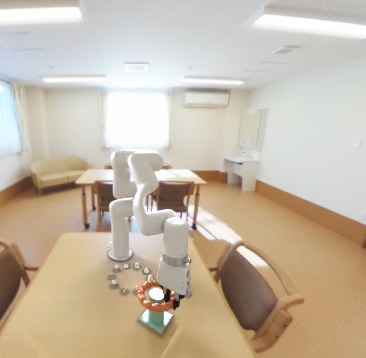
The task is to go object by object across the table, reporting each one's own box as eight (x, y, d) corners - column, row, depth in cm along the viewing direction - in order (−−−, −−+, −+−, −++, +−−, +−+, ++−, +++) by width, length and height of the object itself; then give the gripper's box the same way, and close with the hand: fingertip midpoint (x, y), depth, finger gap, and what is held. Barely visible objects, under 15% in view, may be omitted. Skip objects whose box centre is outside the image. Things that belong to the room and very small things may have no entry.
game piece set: (115, 299, 85) (114, 291, 84) (106, 268, 104) (106, 261, 103) (159, 289, 90) (159, 282, 89) (143, 262, 109) (143, 255, 108)
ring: (130, 300, 73) (130, 294, 72) (150, 278, 83) (150, 273, 83) (165, 321, 65) (165, 315, 64) (183, 294, 75) (183, 288, 75)
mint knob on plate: (138, 321, 75) (139, 295, 73) (151, 305, 82) (152, 281, 80) (161, 336, 70) (162, 308, 67) (172, 317, 77) (174, 291, 74)
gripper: (204, 260, 65) (199, 309, 69) (157, 243, 74) (156, 287, 78) (195, 273, 59) (190, 326, 63) (146, 253, 68) (145, 300, 72)
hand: (171, 304), depth 71 cm, fingers closed on ring, 2 cm apart
